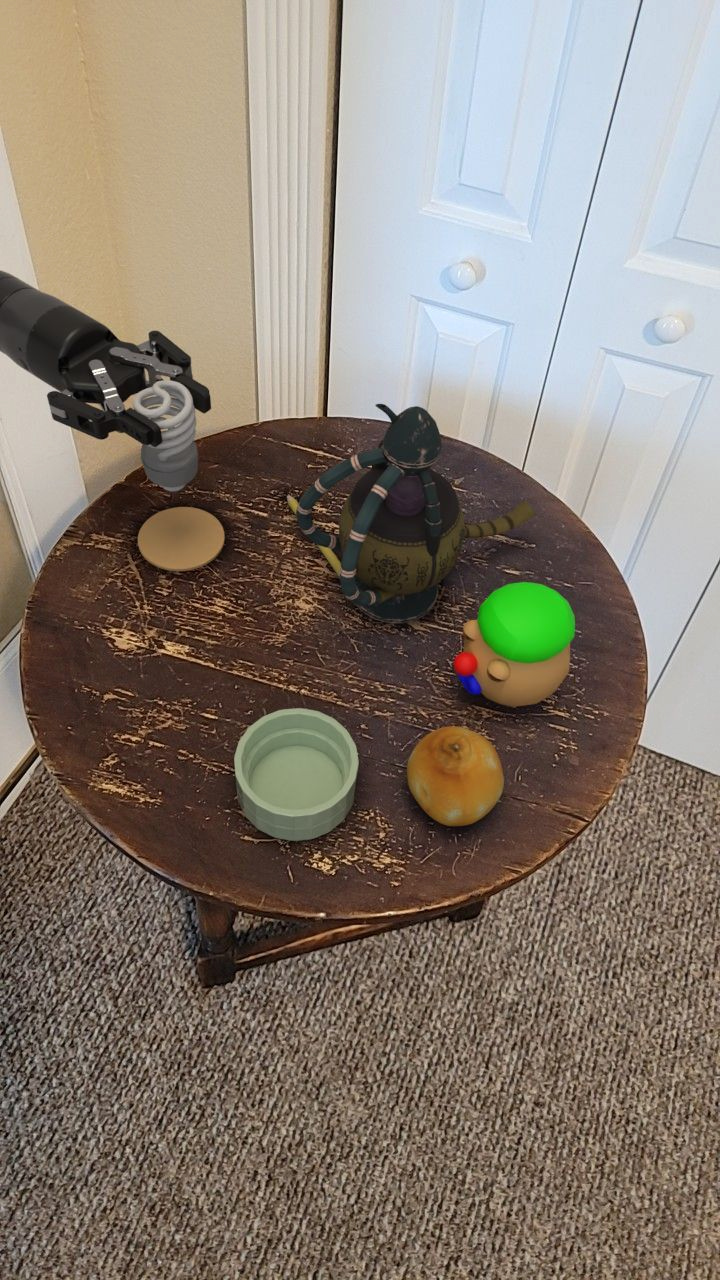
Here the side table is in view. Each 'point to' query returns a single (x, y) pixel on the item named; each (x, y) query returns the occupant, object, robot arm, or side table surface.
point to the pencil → (326, 551)
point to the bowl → (296, 773)
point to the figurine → (517, 645)
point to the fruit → (455, 775)
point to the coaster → (181, 539)
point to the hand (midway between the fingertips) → (183, 419)
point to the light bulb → (169, 435)
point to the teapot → (398, 521)
